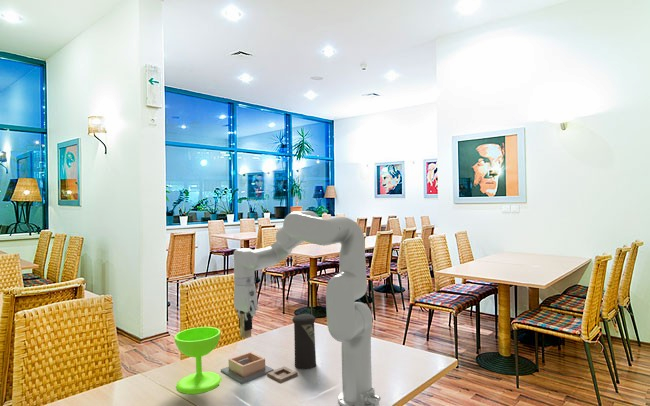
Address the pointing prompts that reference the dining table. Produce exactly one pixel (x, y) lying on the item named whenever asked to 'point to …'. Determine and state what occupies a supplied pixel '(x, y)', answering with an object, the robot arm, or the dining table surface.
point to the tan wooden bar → (243, 333)
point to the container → (304, 341)
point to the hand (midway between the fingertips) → (245, 328)
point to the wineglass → (198, 358)
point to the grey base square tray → (246, 367)
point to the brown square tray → (282, 374)
